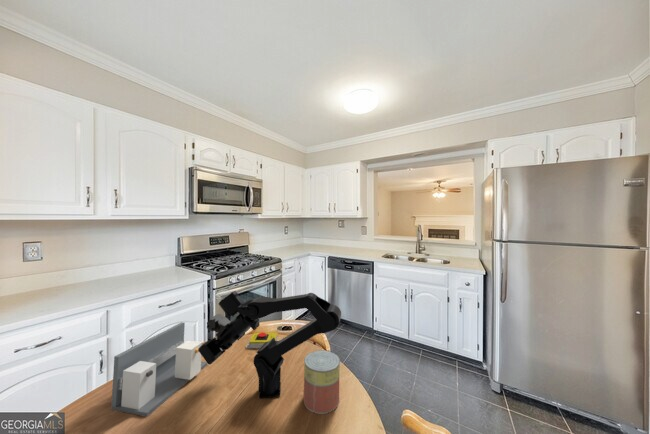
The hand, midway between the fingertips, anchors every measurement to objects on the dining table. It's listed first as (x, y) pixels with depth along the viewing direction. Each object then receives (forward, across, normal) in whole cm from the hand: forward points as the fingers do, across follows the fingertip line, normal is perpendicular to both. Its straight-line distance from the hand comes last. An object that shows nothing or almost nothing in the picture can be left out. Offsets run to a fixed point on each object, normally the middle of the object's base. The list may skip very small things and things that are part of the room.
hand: (208, 355), depth 79 cm
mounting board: (+15, +4, -3) cm, 15 cm away
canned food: (-22, 0, +35) cm, 41 cm away
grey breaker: (+14, +13, -3) cm, 20 cm away
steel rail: (+14, +5, -10) cm, 17 cm away
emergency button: (+1, -28, +12) cm, 31 cm away
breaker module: (+10, 0, 0) cm, 10 cm away
